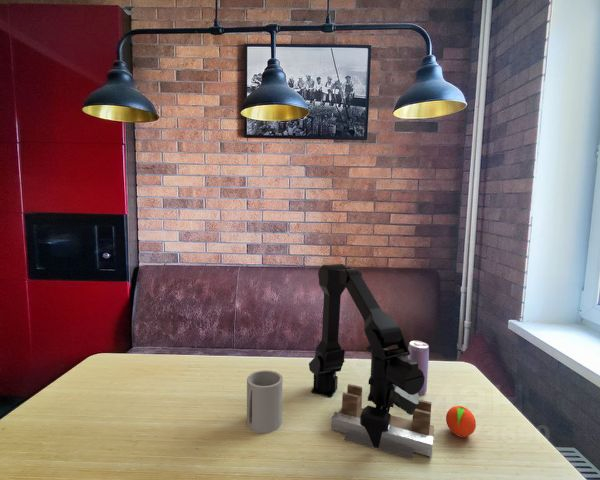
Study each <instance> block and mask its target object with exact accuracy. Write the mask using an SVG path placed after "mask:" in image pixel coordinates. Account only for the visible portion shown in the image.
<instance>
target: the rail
mask: <svg viewBox="0 0 600 480" xmlns="http://www.w3.org/2000/svg"><path fill="white" fill-rule="evenodd" d="M330 425H331V426H330V429H331V430H333V431H337V432H340V433H344V434H346V433H347V434H351V435H354V436H358V437H362V438H365V439H369V440H371V439H370V437H369V435H368V433H367V431H366V429H365V427H364V426H362V425H361V424H360V418H358V417H354V416H350V415H346V414H342V413H339V412H338V411H335V412H334V413H333V414H332V416H331V421H330ZM380 443H383V444H387V445H390V446H394V447H398V448H401V449H405V450H408V451H412V452H413V453H417V454H419V455H423V456H427V457H430V458H432V456H433V448H434V447H433V445H434V436H433V437H432V436H428V435H424V434H420V433H416V432H412V431H408V430H405V429H401V428H397V427H393V426H389V430H388V431H387V432H382V436H381V440H380Z"/></svg>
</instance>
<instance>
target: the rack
mask: <svg viewBox="0 0 600 480" xmlns="http://www.w3.org/2000/svg"><path fill="white" fill-rule="evenodd" d="M346 387H347V392H345V391H344V392H342V400H341V409H340V411H339V412H338V413H342V414H346V415H350V416H354V417H358V418H360V416H361V414H362V411H363V409H364V408H365V407H364V408H363V386H360V385H355V384H351V383H348V384H347V386H346ZM431 417H432V401H427V400H423V399H419V403H418V405H417V407H416V409H415V411H414V413H413V415H412V419H408V418H403V417H400V416H395V415H392V414H391V421H390V426H393V427H397V428H401V429H405V430H408V431H412V432H416V433H420V434H424V435H428V436H432V437H433V438H434V434H435V433H434V432H435V425H434V424H433V425H432V424H431Z"/></svg>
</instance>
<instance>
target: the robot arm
mask: <svg viewBox="0 0 600 480" xmlns="http://www.w3.org/2000/svg"><path fill="white" fill-rule="evenodd" d="M317 275H318V276H317V277H318V285H319V287H320V288H321V291H322V292H323V308H322V327H321V328H322V329H321V340H320V341H319V344H317V346H316V348H315V353H314V357H313V359H311V361H309V363H308V367H309V372H311V373H312V374H313V387H312V388H311V393H312V394H317V395H320V396H321V395H322V396H326V397H329V398H332V397H333V396H334V394H335V393H336V391H337V390H338V380H339V376H338V375H337V373H338V372H341V371H342V367H343V365H344V363H345V361H346V360H345V355H346V354H345V352H346V351H345V350H344V348H342V346H341V344H340V343H339V338H340V337H339V336H340V319H341V318H340V316H341V314H340V313H341V299H342V298H341V297H342V294H343V293H344V291H345V289H346V290H347V291H348V293H349V295H350V297H351V298H352V301H353V302H354V304H355V306H356V308H357V310H358V311H359V314H360V315H361V316H362V317H361V318H362V319H363V321H364V327H363V331H364V333H365V337H366V338H367V341H368V343H369V345H368V346H367V347H366V348H365V351H368V353H371V358H370V360H371V361H370V377H369V379H368V383H367V384H368V385H369V393H368V396H367V401H368V402H372V403H373V404H374V406H375V407H374V406H370V405H366V406H365V407H364V409H363V411H362V414H361V416H360V424H361V425H362V426H364V427H365V429H366V431H367V433H368V435H369V437H370V439H371V442H372V444H373V446H374V447H376V448H378V447H379V444H380V440H381V436H382V432H387V431H388V430H389V426H390V421H391V415H392V414H391V413H390V409H391V408H392V409H393V408H394V405H395V407H398V408H399V409H401V410H402V411H404V412H406V414H407V415H409V416H413V413H414V411H415V409H416V407H417V405H418V403H419V400H420V395H418V392H419V391H420V390H421V388H422V387H423V384H424V380H425V377H424V375H423V372H422V371H421V370H420V369H418V363H417V362H415V361H412V360H410V359H408V355H410V352H409V344H407V342H406V339H405V337H404V334H403V332H402V329H401V327H400V325H399V324H398V322H396V320H395V318H393V316H391V315H389V313H387V312H385V311H384V310H383V309H382V308H381V307H380V305H379V303H378V302H377V300H376V298H375V297H374V296H373V295H374V294H373V293H372V291H371V290H370V289H369V287H368V285H367V284H366V282H365V280H364V278H363V276H362V271H361V270H360V269H358V268H353V267H346V266H345V264H343V263H332V264H323V265H321V267H319V270H318V272H317ZM396 346H397V347H396ZM392 347H396V348H392ZM388 348H392V349H388Z"/></svg>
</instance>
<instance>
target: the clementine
mask: <svg viewBox="0 0 600 480" xmlns="http://www.w3.org/2000/svg"><path fill="white" fill-rule="evenodd" d="M445 421H446V422H445V423H446V425H447V427H448V429H449V430H450V431H451V432H452V434H454V435H456V436H458V437H461V438H462V437H464V438H465V437H469V436H470V435H473V433H474V431H475V430H476V428H477V424H476V423H477V421H476V418H475V416H474V414H473V412H472V411H471V410H469V409H468V408H467V407H465V406H463V405H455V406H452V407H450V409H448V411H447V412H446V415H445Z"/></svg>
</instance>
